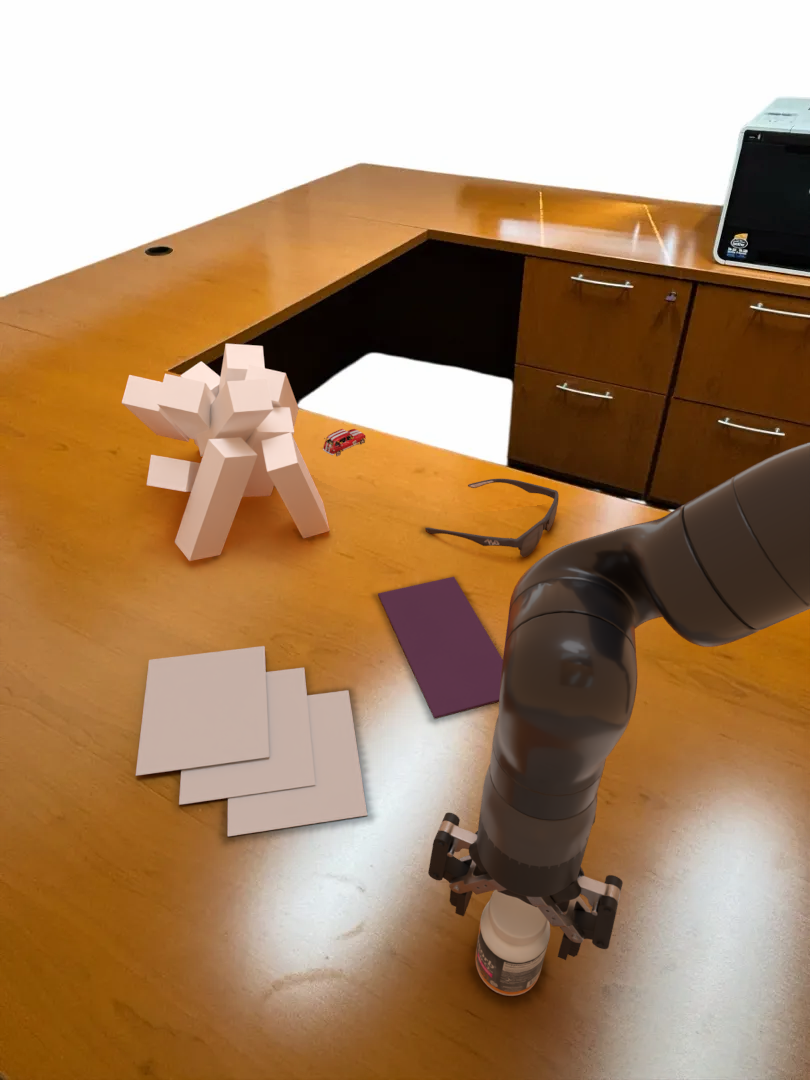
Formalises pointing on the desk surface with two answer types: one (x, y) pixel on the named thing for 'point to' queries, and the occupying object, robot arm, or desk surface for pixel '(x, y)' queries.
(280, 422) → the pile of blocks
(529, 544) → the sunglasses
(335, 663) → the desk surface
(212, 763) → the paper stack
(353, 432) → the toy car
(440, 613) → the cloth
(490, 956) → the pill bottle
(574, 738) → the robot arm
